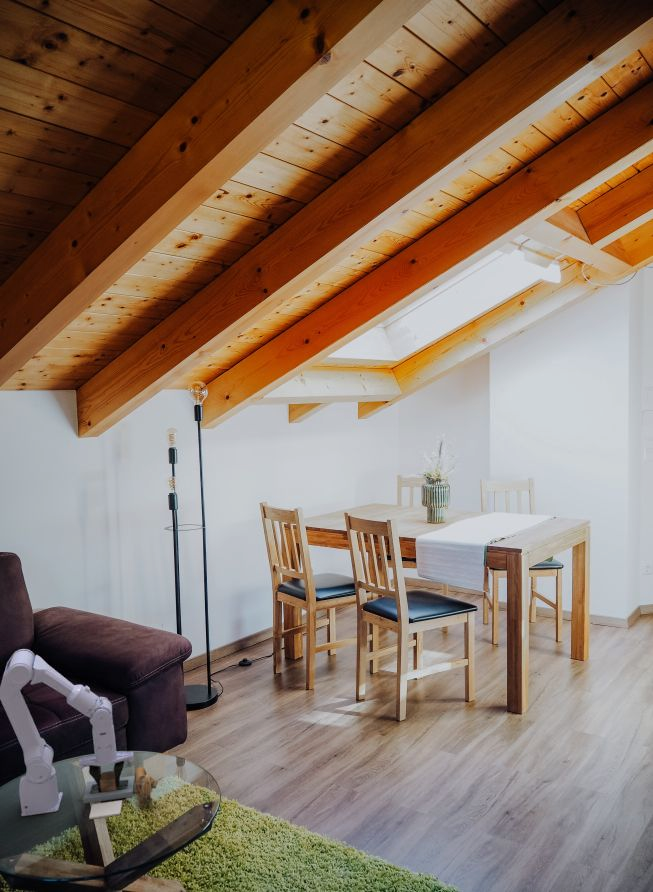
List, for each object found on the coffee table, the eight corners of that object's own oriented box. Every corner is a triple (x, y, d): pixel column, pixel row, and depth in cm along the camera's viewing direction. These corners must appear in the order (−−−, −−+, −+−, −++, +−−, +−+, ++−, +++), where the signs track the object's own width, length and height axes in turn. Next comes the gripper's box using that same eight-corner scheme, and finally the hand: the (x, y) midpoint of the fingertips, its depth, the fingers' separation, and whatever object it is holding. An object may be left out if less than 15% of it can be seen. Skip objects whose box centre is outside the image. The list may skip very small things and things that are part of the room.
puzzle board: (83, 803, 209) (83, 798, 209) (87, 786, 216) (87, 781, 216) (132, 796, 211) (132, 791, 211) (135, 780, 218) (134, 775, 218)
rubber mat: (89, 819, 202) (89, 817, 202) (92, 806, 208) (92, 804, 208) (120, 814, 203) (120, 813, 203) (122, 801, 209) (122, 800, 209)
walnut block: (101, 797, 211) (99, 780, 211) (103, 788, 215) (101, 772, 214) (116, 795, 212) (114, 778, 211) (118, 786, 216) (116, 770, 215)
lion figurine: (161, 806, 206) (158, 776, 205) (142, 813, 204) (139, 783, 202) (144, 779, 219) (141, 750, 217) (126, 785, 216) (123, 756, 214)
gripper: (132, 731, 216) (137, 775, 218) (79, 738, 214) (85, 782, 216) (130, 745, 209) (135, 790, 211) (75, 752, 207) (81, 797, 209)
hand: (109, 787), depth 213 cm, fingers closed on walnut block, 4 cm apart
